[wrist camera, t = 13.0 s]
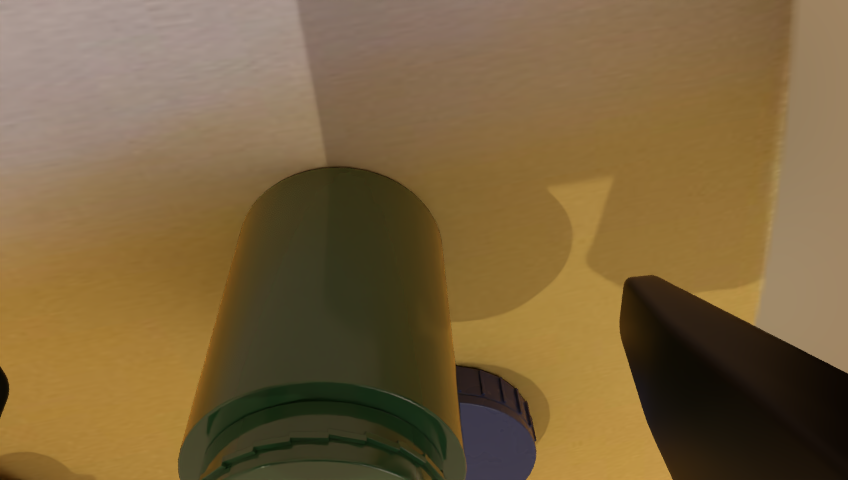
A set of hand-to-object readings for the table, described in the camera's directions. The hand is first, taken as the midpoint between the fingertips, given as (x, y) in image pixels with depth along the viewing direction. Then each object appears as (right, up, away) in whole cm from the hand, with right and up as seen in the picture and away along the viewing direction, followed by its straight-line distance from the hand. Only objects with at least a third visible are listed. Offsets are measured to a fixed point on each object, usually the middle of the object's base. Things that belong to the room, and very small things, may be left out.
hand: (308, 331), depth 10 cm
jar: (-1, +1, +12) cm, 12 cm away
